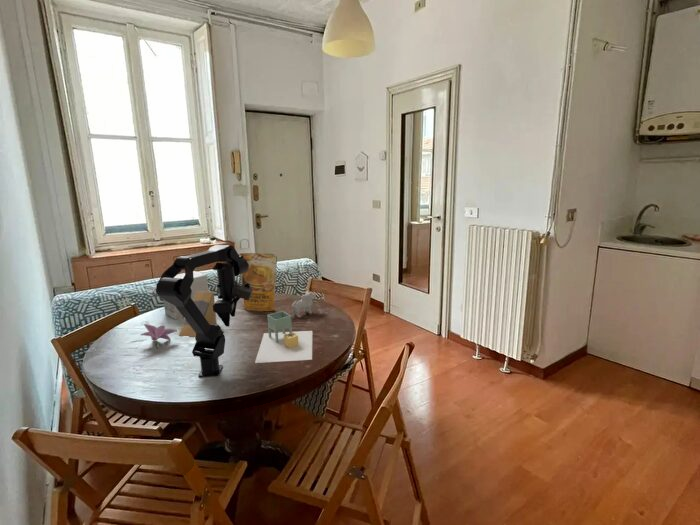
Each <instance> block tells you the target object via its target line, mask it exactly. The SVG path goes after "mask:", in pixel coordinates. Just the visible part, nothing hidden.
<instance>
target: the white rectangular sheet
mask: <svg viewBox="0 0 700 525" xmlns="http://www.w3.org/2000/svg"><path fill="white" fill-rule="evenodd" d="M292 333H295V334H296V335H298V344H299V345H298V346H295V347H292V348H288V347H287V346H285V345H284V335H286V334H289V331H285V333H282V331H278V343H276V339H275V332H271V337H269V333H268V332H265V333H263V335H262V338H261V342H260V345H259V349H258V352H257V355H256V357H255V361H254V364H264V363H277V362H278V363H279V362H280V363H281V362H296V361H297V362H298V361H311V360H313V330H303V331H302V330H297V331H292Z"/></svg>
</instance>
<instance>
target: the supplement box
mask: <svg viewBox="0 0 700 525" xmlns="http://www.w3.org/2000/svg"><path fill="white" fill-rule="evenodd" d="M184 276H185V272H183V273H178V274H177V275H176V276H175V277H174V278H180V279H183V278H184ZM193 278H194V281H193V283H192V285H191V287H190V288H191V290H192V293H191V299H192V300H194V297H195V295H196V292H197V291H203V292H210V291H209V284H208V276H207V274H206V273H202V272H199V271H195V270H194V271H193ZM162 300H163V299H162ZM163 308H164V314H165V315H167V316H169V317H170V318H172V319H175V320H179V319H182V318H184V317H183V316H182V314H181V313H180V312H179V311H178V309H177V308H176V307H175V306H174V305H172V304H170V303H169V302H167V301H165V300H163Z"/></svg>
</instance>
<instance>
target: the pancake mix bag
mask: <svg viewBox="0 0 700 525" xmlns="http://www.w3.org/2000/svg"><path fill="white" fill-rule="evenodd" d="M238 255H243V258H244V259H245V260H246V261H247V262H248V264H249V268H248V270H247V271H246V272H244V273H242V274H240V275H239V276H240V282H241V285H244V284H245V283H250V285H251V288H252V289H253V291H252V294H251V297H250V299H249V300H245V299H243V309H244V310H246V311H249V312H250V311H251V312H263V311H270V312H272V311H273V310H274V311H275V310H276V309H275V295H276V294H275V293H276V285H277V284H276V283H277V281H276V280H277V268H278V267H277V265H278V257H277V255H275V254H274V253H255V252H254V253H253V252H243V253H238ZM274 311H273V312H274Z"/></svg>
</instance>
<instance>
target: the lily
mask: <svg viewBox="0 0 700 525" xmlns="http://www.w3.org/2000/svg"><path fill="white" fill-rule="evenodd" d="M143 326H144V327H145V328H146V330H147V331H146V332H144V333H140V336H147V337H150V339H151V341H152V340H155V346H156V348H157V349H158V339H163V340H167V341H171V337H170V336H169V335H170V334H173V333H176V332H178V330H177V329H173V328H165V325H163V324H161V325H159V326H157V327H156V326H155V325H152V324H147V323H145V324H143Z"/></svg>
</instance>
